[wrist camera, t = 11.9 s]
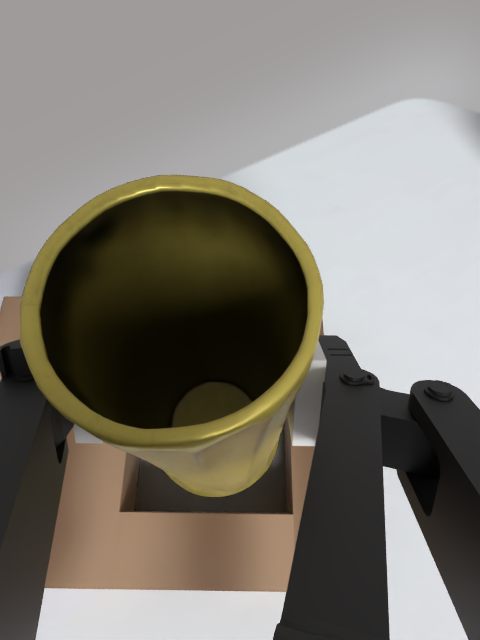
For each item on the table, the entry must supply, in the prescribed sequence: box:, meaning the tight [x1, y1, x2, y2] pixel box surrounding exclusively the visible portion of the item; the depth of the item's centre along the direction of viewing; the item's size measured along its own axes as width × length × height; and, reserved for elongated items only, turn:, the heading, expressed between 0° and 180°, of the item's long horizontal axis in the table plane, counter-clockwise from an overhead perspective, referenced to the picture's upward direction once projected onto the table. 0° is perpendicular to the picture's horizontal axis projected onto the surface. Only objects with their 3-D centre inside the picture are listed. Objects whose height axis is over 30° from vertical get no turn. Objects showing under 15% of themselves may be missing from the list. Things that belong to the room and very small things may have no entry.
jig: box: [0, 297, 324, 592], centre depth 22 cm, size 18×14×3 cm
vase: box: [19, 175, 324, 497], centre depth 13 cm, size 6×6×14 cm
